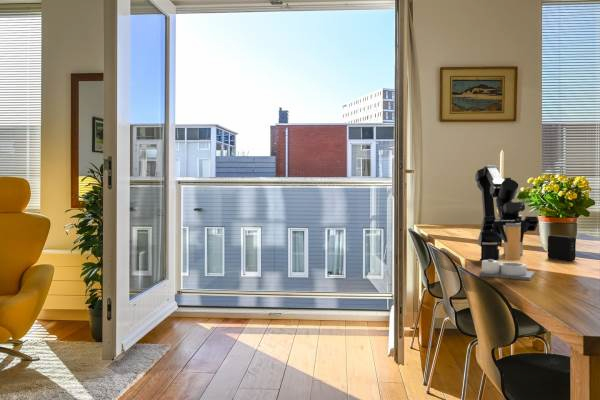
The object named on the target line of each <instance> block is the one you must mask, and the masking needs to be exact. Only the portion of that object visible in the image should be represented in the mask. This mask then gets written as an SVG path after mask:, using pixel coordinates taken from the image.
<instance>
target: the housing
mask: <svg viewBox="0 0 600 400" xmlns="http://www.w3.org/2000/svg"><path fill="white" fill-rule="evenodd" d="M527 268H528V267H527V264H526V263H522V262H513V261H510V262H509V261H507V262H506V261H504V262H501V261H499V260H497V261H496V260H493V259H488V260H481V271H480V272H479V277H487V278H498V277H500V278H501V279H509V278H511V280H519V281H531V279H533V277H534V276H535V271H533V270H527Z"/></svg>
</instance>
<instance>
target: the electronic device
mask: <svg viewBox="0 0 600 400" xmlns="http://www.w3.org/2000/svg"><path fill="white" fill-rule="evenodd" d="M576 242H577V241H576V237H575V236H569V235H568V236H567V235H559V234H554V235H553V234H552V235H548V236H547V258H548V259H550V260H555V261H562V262H572V261H576V250H577V249H576V247H577V245H576V244H577V243H576Z"/></svg>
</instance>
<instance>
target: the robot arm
mask: <svg viewBox="0 0 600 400" xmlns="http://www.w3.org/2000/svg"><path fill="white" fill-rule="evenodd" d="M474 178H475V179H474V180H475V182H476V186H477V188H478V189H479V190H480V192H481V199H482V200H481V201H482V211H483V213H482V215H483V218H482V222H481V227H480V231H479V235H478V238H477V244H478V246H479V247H480V250H481V251H480V258H479V260H480V261H483V260H488V259H493V260H496V261H499V260H500V248H499V247H502V246H503V245H502V244H503V243H504V242H507V238H506V234H505V231H504V226H506V223H521V242H523V243H524V235H525V234H526V233H527V232H534V231H536V229H537V226H538V224H539V218H538V217H537V215H536V216H535V215H526V216H524V219H523V220H522V219H521V220H517V218H518V217H519V215H520V214H519V213H520V212H524V211H525V210H526V204H525V202H524V201H517V202H516V201H514V202H513V200H514V199H515V197H516V194H517V191H518V188H519V183H518V182H517V181H516V180H513V179H512V178H511V177H505V178H504V179H503V177H502V175H501V174H500V172H499V170H498V166H497V165H485V166H483V167H482V168H481V169H477V171H476V173H475V177H474ZM494 198H496V199H495V201H494ZM494 203H495V204H496V205H495V204H494ZM495 206H496V208H497V212H498V215H497V216H498V218H497V217H496V214H495V212H496V211H495ZM498 259H499V260H498Z"/></svg>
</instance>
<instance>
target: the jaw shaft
mask: <svg viewBox="0 0 600 400" xmlns="http://www.w3.org/2000/svg"><path fill="white" fill-rule="evenodd" d="M505 234H506V238H507V242H505V254H504V258H505V259H504V260H505V261H510V262H513V261H517V262H518V261H521V255H520V244H521V223H506V228H505Z"/></svg>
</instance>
